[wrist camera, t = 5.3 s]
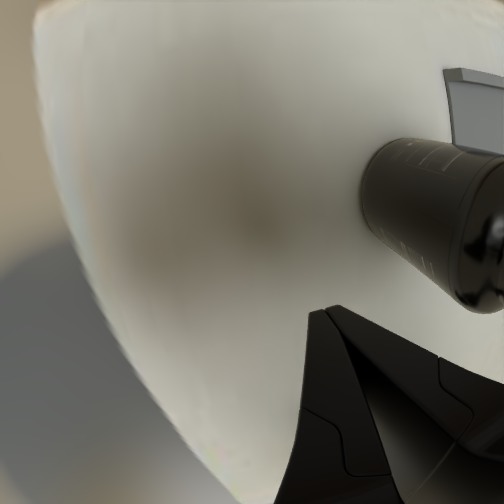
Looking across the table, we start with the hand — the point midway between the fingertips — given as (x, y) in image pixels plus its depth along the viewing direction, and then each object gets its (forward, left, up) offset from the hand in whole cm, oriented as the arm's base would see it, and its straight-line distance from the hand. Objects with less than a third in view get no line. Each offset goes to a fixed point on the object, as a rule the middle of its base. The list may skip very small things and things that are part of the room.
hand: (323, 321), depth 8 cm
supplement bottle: (+7, -5, -9) cm, 13 cm away
